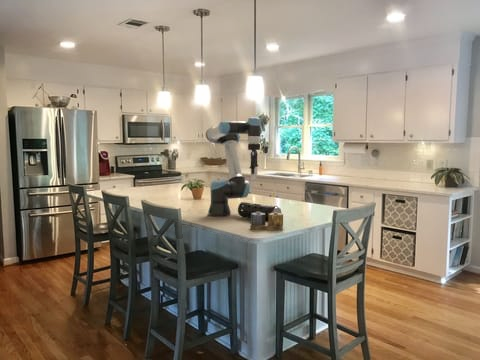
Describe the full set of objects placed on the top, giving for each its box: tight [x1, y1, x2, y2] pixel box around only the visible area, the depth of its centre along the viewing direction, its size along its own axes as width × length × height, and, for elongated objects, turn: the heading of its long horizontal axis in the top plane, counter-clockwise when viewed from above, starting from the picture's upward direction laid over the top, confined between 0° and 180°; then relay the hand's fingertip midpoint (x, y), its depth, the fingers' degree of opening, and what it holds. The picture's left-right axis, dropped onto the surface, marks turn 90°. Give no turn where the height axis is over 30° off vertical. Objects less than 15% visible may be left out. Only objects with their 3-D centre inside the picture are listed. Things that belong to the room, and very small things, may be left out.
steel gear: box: [250, 212, 267, 226], centre depth 225 cm, size 8×8×6 cm
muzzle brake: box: [237, 201, 282, 222], centre depth 246 cm, size 10×28×10 cm, turn 51°
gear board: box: [250, 212, 284, 231], centre depth 225 cm, size 18×11×9 cm, turn 83°
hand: (254, 178), depth 241 cm, fingers open, 13 cm apart
